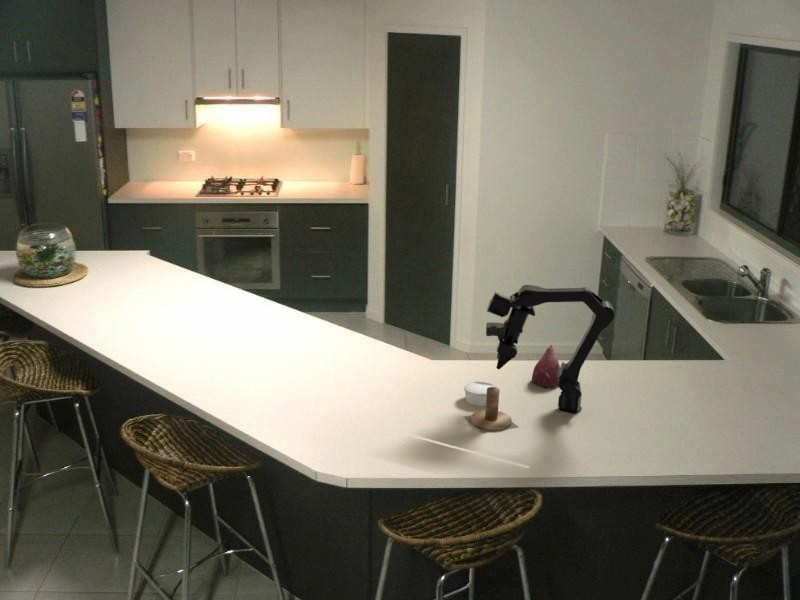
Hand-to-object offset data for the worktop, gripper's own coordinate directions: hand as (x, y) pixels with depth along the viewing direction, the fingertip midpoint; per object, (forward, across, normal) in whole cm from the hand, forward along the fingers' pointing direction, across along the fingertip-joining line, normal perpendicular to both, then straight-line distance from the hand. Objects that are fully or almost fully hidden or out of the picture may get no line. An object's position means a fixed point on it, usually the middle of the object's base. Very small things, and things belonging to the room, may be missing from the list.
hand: (498, 363), depth 332 cm
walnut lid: (+14, +16, +3) cm, 21 cm away
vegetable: (+9, -22, +21) cm, 32 cm away
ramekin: (+16, -1, 0) cm, 16 cm away
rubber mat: (+14, +16, +4) cm, 21 cm away
